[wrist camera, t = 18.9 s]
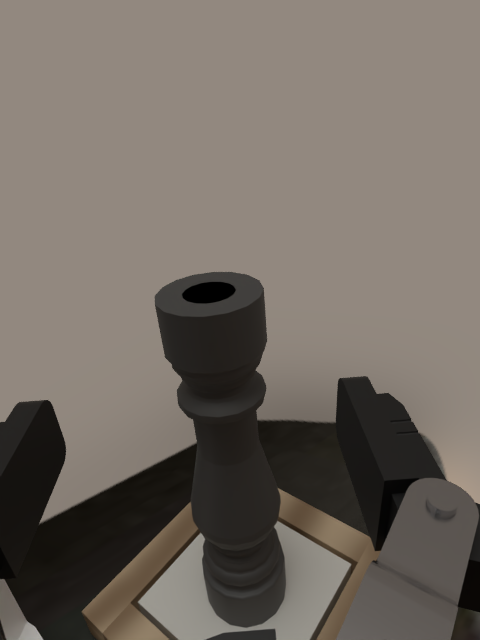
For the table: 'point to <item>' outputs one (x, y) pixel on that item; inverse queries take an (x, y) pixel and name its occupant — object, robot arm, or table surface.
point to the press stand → (151, 563)
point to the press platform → (289, 622)
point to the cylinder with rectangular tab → (14, 617)
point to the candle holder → (227, 438)
